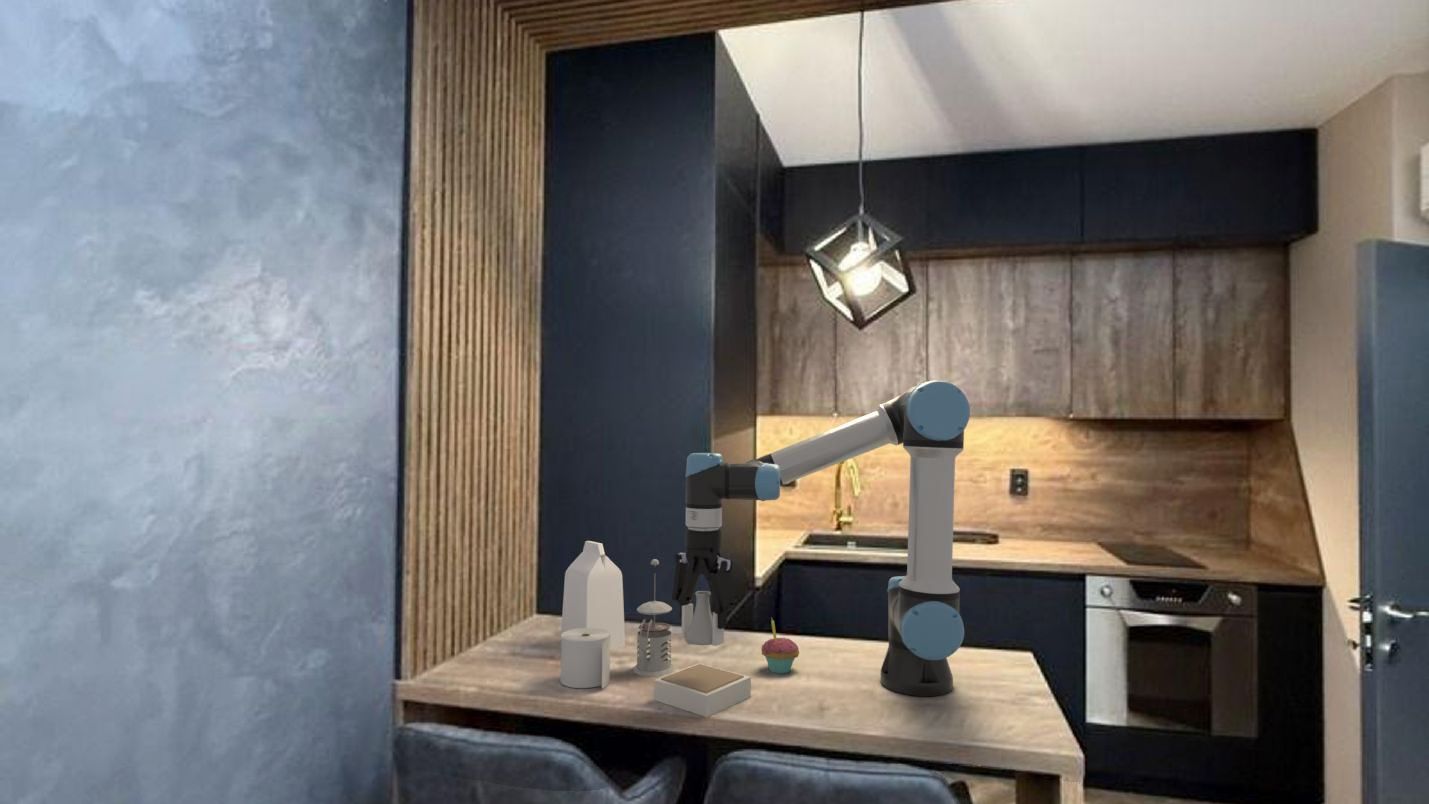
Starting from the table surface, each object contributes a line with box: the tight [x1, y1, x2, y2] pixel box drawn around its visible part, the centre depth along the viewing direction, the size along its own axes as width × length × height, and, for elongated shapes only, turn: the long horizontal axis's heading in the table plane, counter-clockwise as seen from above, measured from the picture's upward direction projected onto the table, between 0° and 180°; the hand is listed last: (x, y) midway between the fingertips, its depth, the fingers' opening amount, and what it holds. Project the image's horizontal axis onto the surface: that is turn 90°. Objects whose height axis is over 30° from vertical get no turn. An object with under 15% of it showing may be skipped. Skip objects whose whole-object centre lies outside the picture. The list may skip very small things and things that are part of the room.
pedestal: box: [653, 663, 752, 718], centre depth 150 cm, size 14×14×4 cm
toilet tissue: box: [560, 628, 611, 690], centre depth 161 cm, size 11×12×10 cm
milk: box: [560, 540, 626, 651], centre depth 187 cm, size 12×12×26 cm
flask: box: [684, 590, 713, 646], centre depth 151 cm, size 7×7×10 cm
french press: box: [632, 558, 676, 677], centre depth 168 cm, size 10×12×25 cm
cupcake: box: [761, 617, 800, 674], centre depth 168 cm, size 9×8×12 cm
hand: (702, 640), depth 151 cm, fingers closed on flask, 8 cm apart
